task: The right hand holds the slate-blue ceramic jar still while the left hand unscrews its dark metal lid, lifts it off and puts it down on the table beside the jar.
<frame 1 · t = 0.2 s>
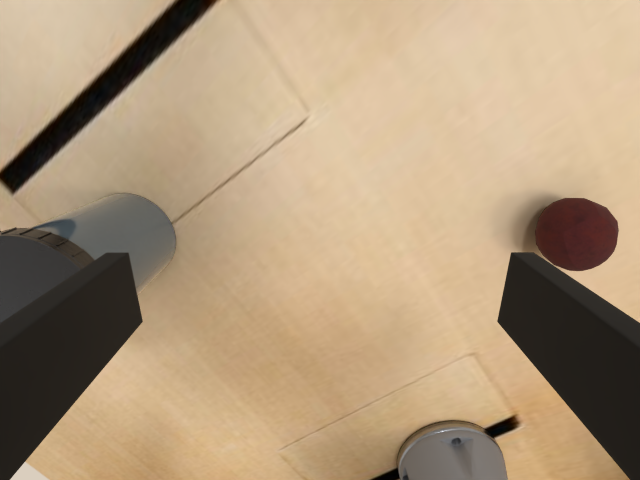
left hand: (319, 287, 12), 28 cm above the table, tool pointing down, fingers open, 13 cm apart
jar: (131, 236, 41), on the table
lid: (30, 304, 27), point 15 cm above the table, screwed on, not yet turned
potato: (553, 222, 41), on the table
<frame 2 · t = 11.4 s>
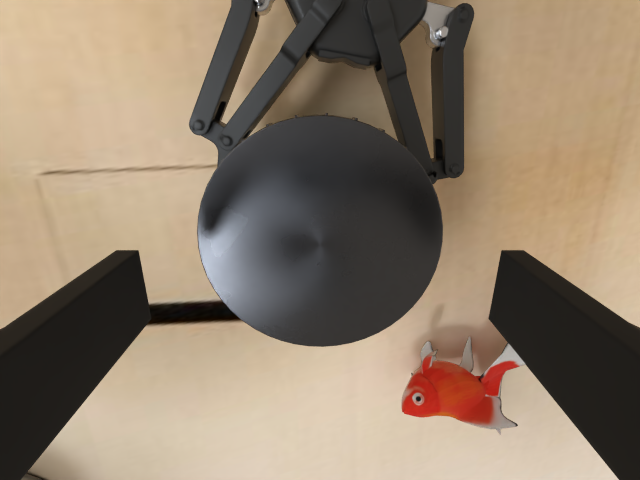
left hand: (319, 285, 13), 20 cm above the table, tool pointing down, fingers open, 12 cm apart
right hand: (310, 253, 26), fingers closed on jar, 10 cm apart
lid: (320, 242, 17), point 15 cm above the table, screwed on, not yet turned
fish: (463, 347, 37), on the table
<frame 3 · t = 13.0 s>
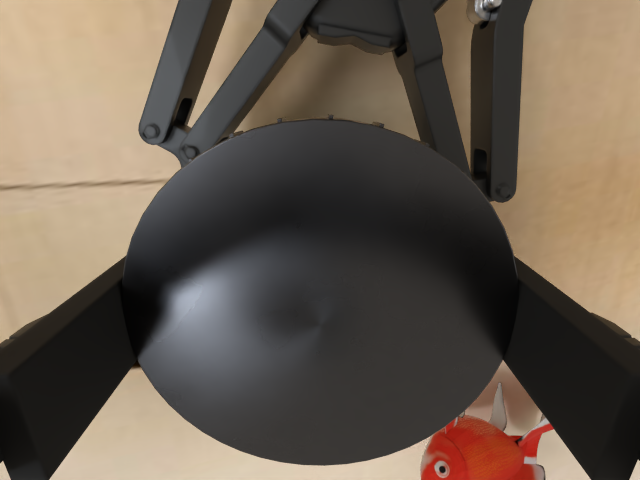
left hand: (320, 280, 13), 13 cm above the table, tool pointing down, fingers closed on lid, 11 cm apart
lid: (320, 318, 11), point 15 cm above the table, screwed on, not yet turned, touching left hand
fish: (492, 394, 31), on the table
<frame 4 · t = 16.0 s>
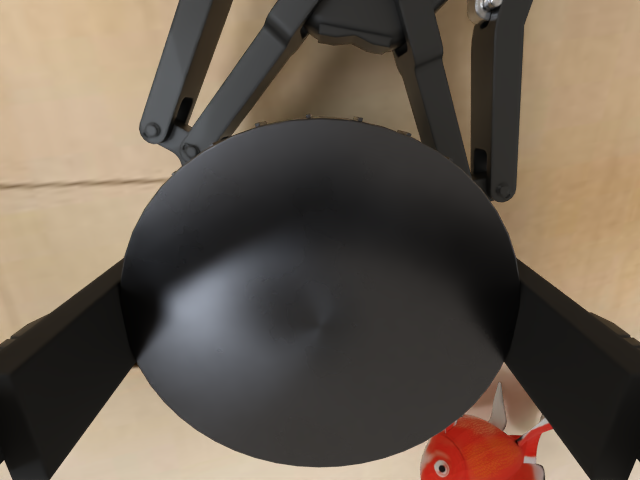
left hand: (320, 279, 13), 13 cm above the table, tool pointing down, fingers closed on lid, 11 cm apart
lid: (320, 319, 10), point 16 cm above the table, turned 96° so far, risen 0.1 cm, still on its thread, touching left hand
fish: (492, 394, 31), on the table
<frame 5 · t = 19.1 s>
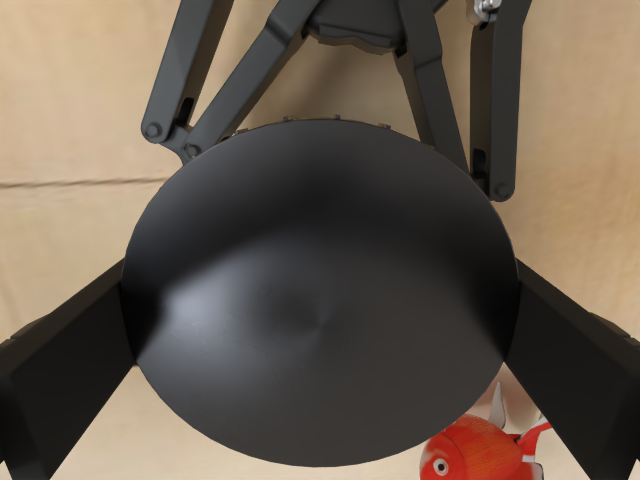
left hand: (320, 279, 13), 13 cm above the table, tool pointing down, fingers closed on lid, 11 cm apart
lid: (319, 319, 11), point 16 cm above the table, turned 191° so far, risen 0.2 cm, still on its thread, touching left hand
fish: (491, 393, 31), on the table
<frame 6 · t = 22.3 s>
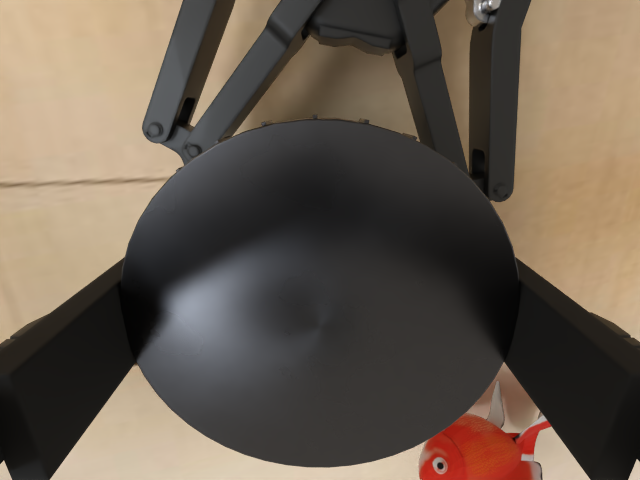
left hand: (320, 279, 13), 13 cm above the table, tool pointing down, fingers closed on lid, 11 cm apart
lid: (319, 319, 11), point 16 cm above the table, turned 287° so far, risen 0.4 cm, still on its thread, touching left hand
fish: (490, 392, 31), on the table
when the left hand's fingers open (0 cm above the table, at t = 28.4 s): lid drops 2 cm, point 1 cm above the table.
when the right hand's fingers open (7 cm above the table, at t = 29.4 s): jar stays where it is, on the table.
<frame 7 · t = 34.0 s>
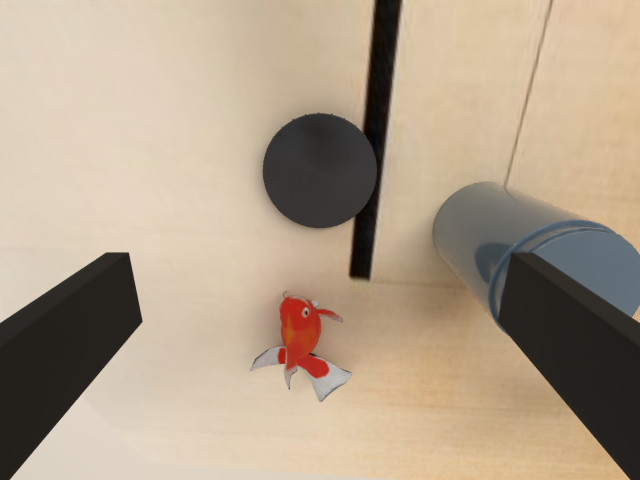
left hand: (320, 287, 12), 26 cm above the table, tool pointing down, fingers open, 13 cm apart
jar: (479, 228, 39), on the table
lid: (319, 173, 36), point 1 cm above the table, off its thread
fish: (308, 330, 44), on the table
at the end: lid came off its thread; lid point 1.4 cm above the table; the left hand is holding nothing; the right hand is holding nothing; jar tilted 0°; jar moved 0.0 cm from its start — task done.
